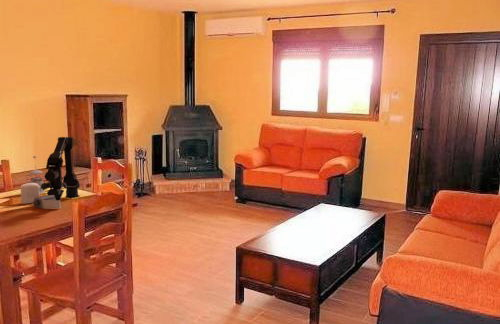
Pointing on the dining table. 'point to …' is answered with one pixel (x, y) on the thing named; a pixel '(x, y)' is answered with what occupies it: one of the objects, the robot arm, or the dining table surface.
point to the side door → (51, 204)
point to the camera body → (38, 200)
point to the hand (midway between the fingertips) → (58, 202)
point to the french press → (36, 178)
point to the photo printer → (29, 192)
